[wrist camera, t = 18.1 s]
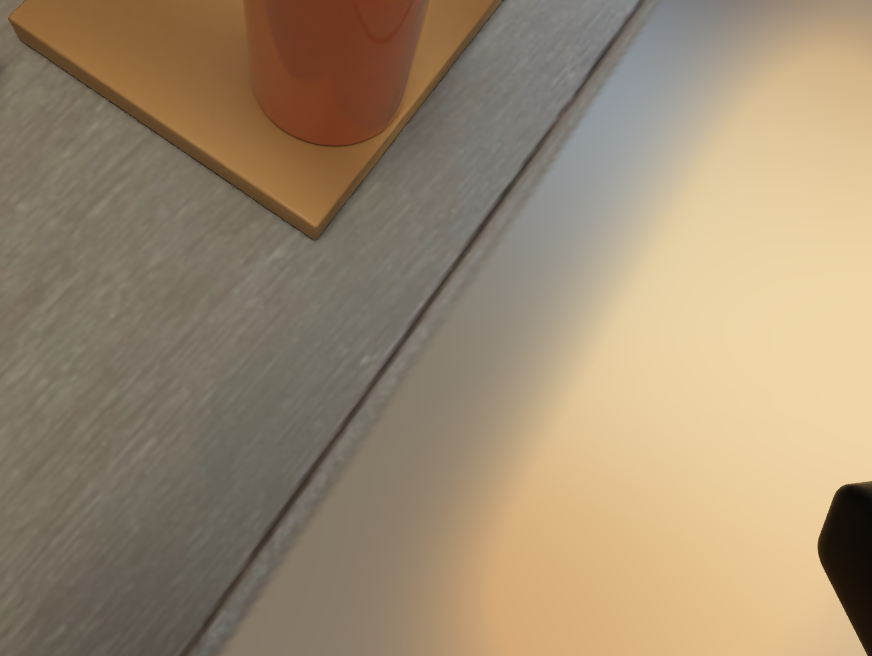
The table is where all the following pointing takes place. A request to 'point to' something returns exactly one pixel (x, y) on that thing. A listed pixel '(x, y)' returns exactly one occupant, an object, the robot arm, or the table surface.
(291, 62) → the orange knobbed cylinder
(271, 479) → the table surface
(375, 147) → the low shelf board
